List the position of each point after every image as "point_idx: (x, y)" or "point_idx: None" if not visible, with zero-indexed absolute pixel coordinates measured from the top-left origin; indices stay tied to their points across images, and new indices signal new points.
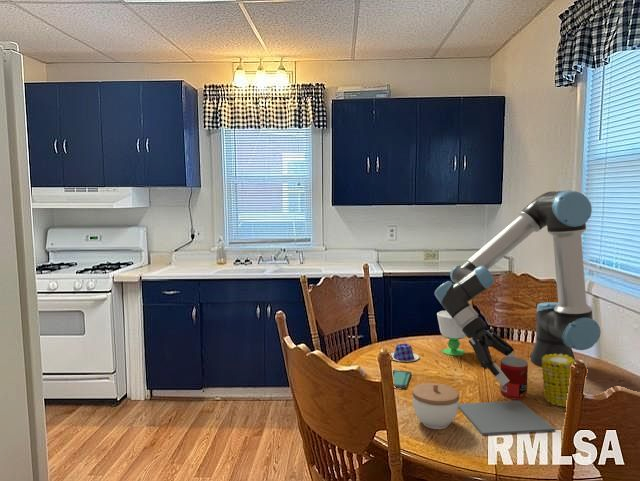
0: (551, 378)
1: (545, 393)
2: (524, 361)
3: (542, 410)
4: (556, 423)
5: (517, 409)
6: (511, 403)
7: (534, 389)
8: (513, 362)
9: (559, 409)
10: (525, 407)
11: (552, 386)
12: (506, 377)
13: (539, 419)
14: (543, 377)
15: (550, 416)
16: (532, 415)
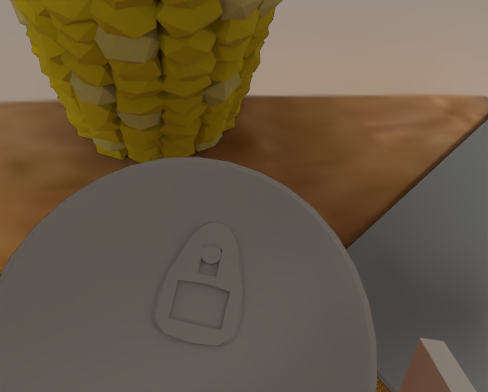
0: (269, 12)
1: (192, 141)
2: (115, 204)
3: (330, 165)
4: (431, 99)
5: (445, 273)
6: (386, 326)
7: (5, 251)
8: (230, 339)
9: (263, 98)
10: (387, 238)
11: (258, 52)
12: (446, 370)
13: (477, 156)
14: (195, 85)
15: (376, 126)
16: (458, 190)
